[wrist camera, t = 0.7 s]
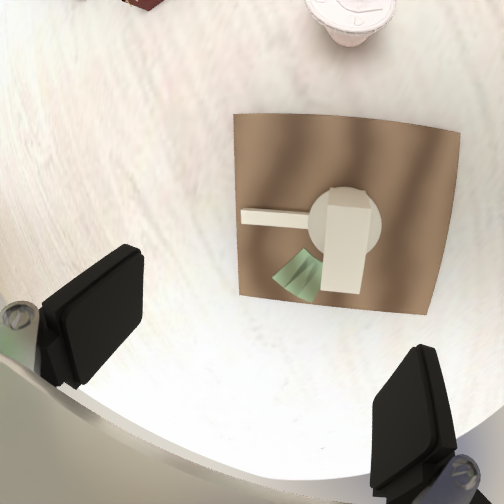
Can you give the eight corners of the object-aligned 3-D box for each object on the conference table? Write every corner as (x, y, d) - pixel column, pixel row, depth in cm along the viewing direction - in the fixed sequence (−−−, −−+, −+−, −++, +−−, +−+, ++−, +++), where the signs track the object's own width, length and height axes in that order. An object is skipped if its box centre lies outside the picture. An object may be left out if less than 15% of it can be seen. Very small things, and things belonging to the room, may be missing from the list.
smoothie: (362, 71, 24) (381, 32, 12) (302, 40, 24) (271, -17, 12) (391, 23, 21) (423, -40, 8) (331, -7, 21) (320, -84, 9)
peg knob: (384, 190, 26) (396, 211, 20) (375, 259, 29) (382, 296, 23) (243, 180, 30) (215, 197, 24) (244, 246, 33) (220, 278, 26)
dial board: (456, 132, 23) (461, 133, 22) (424, 309, 32) (426, 316, 30) (237, 114, 29) (232, 114, 28) (242, 289, 37) (238, 295, 36)
